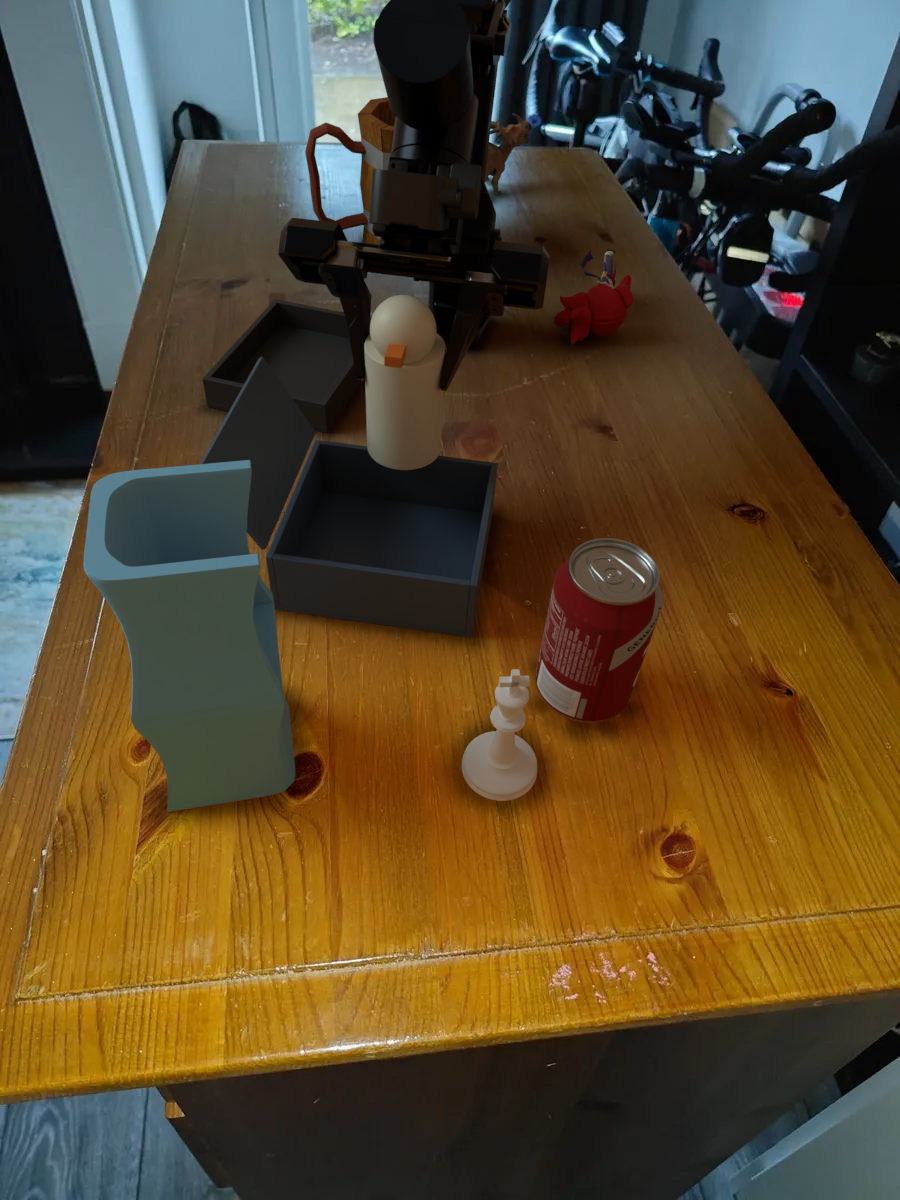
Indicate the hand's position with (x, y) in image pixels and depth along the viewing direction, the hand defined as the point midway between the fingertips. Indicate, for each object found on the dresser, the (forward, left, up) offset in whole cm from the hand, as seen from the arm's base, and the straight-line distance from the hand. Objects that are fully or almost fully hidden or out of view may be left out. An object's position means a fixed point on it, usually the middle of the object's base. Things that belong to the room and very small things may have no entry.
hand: (401, 384), depth 61 cm
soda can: (+12, +18, -13) cm, 25 cm away
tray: (-18, -16, -13) cm, 28 cm away
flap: (+6, -9, -4) cm, 11 cm away
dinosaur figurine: (-70, -11, -13) cm, 72 cm away
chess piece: (+20, +14, -13) cm, 28 cm away
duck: (-1, 0, -7) cm, 7 cm away
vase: (+24, -3, -13) cm, 28 cm away
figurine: (-40, +10, -13) cm, 43 cm away
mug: (-49, -17, -13) cm, 53 cm away
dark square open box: (+4, +1, -13) cm, 14 cm away
